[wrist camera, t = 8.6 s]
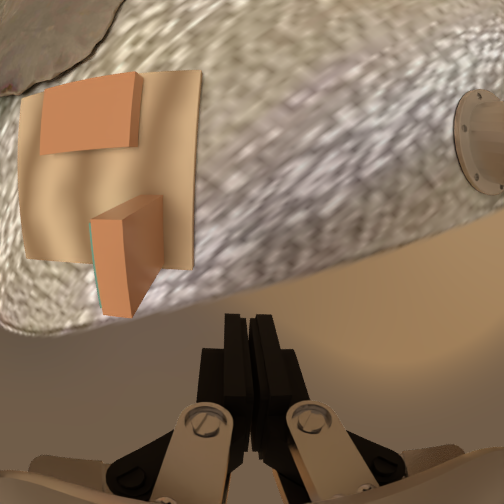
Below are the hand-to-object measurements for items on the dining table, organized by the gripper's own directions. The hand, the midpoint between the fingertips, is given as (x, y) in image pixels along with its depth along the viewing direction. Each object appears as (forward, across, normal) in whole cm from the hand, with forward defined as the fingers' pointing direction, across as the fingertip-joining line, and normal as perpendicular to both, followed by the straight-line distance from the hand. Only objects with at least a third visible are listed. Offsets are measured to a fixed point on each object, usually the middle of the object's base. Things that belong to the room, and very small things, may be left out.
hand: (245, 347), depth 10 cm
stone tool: (+16, +23, -26) cm, 39 cm away
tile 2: (+15, +7, 0) cm, 16 cm away
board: (+16, +13, -5) cm, 21 cm away
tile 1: (+13, +8, -10) cm, 19 cm away
